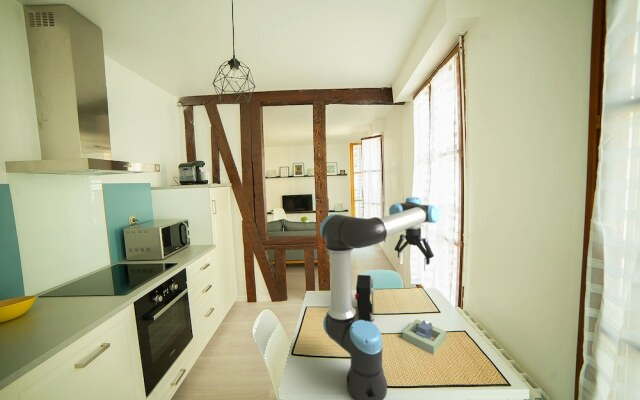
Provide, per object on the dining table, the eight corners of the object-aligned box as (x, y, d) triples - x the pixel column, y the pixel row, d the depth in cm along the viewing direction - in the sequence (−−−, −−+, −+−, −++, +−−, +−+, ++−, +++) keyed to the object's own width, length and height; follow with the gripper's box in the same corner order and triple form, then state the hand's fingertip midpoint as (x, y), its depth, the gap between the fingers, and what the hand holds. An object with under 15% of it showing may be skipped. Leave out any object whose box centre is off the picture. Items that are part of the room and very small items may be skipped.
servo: (424, 345, 114) (424, 329, 114) (416, 341, 117) (416, 326, 116) (433, 335, 121) (433, 320, 121) (425, 331, 124) (425, 317, 124)
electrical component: (374, 324, 132) (374, 288, 130) (355, 322, 134) (354, 287, 132) (373, 307, 149) (373, 275, 147) (357, 305, 151) (356, 274, 149)
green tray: (433, 354, 108) (433, 346, 108) (402, 338, 119) (402, 331, 119) (446, 338, 119) (446, 331, 118) (416, 325, 130) (416, 319, 129)
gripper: (441, 229, 120) (440, 270, 122) (395, 223, 138) (395, 259, 140) (434, 231, 115) (434, 275, 117) (388, 225, 133) (388, 263, 135)
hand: (413, 266), depth 128 cm, fingers open, 13 cm apart
